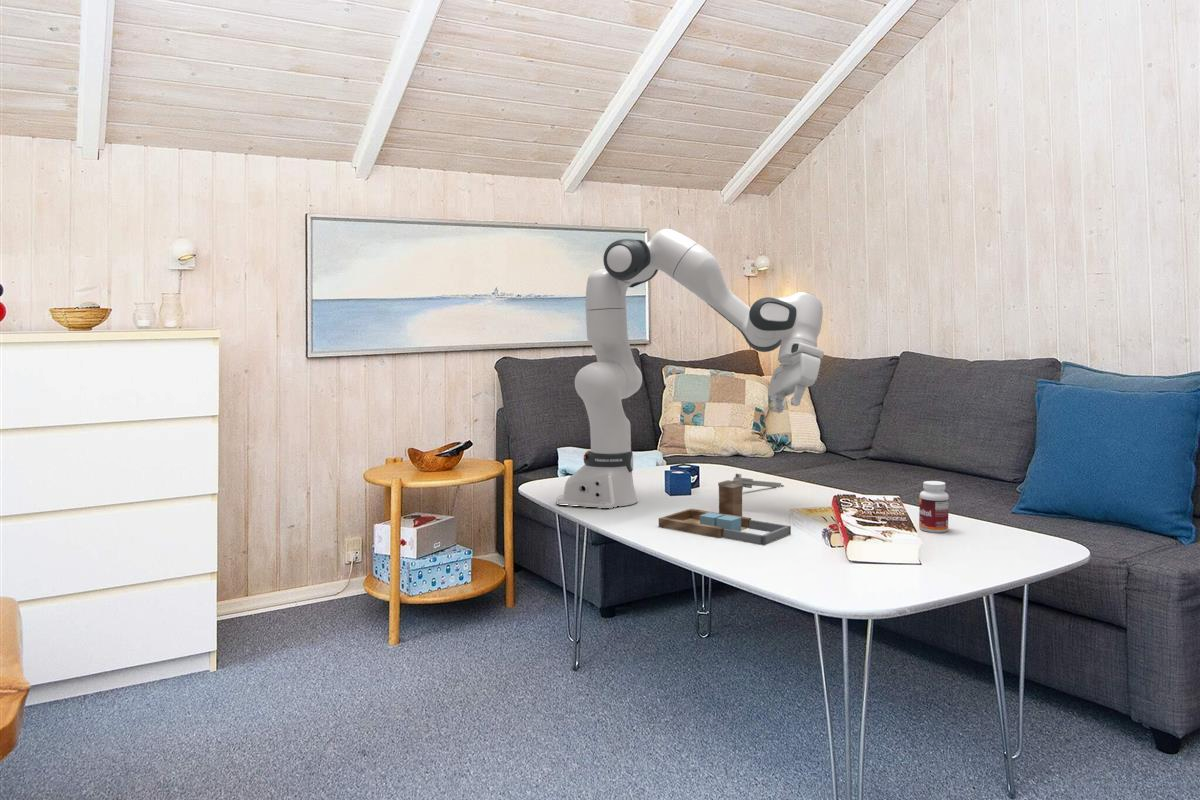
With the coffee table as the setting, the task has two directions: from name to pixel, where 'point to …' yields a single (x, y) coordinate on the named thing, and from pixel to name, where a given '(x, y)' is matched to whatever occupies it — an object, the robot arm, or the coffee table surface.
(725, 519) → the light blue block
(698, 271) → the robot arm
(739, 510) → the block
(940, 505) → the pill bottle
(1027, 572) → the coffee table surface
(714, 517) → the pale blue block
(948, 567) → the coffee table surface
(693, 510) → the slot board
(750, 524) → the tray
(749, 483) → the caliper
